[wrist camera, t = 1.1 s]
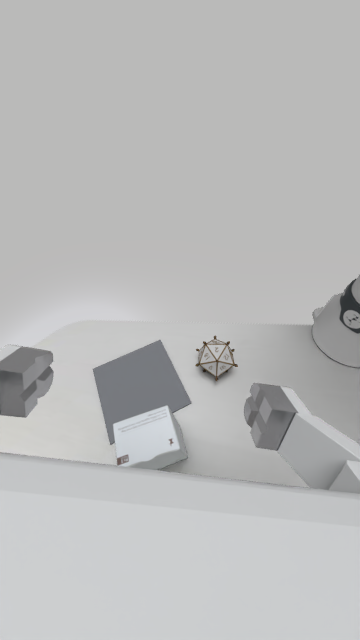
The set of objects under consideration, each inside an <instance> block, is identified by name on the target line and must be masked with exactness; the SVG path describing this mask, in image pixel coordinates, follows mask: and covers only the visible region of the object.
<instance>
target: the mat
mask: <svg viewBox="0 0 360 640" xmlns="http://www.w3.org/2000/svg"><path fill="white" fill-rule="evenodd" d="M93 372H94V376H95V381H96V385H97V389H98V394H99V398H100V402H101V407H102V411H103V415H104V419H105V424H106V428H107V432H108V437H109V441H110V444H113V443H115V438H114V429H113V424H114V423H117V422H120V421H122V420H125V419H128V418H131V417H134V416H137V415H139V414H142V413H145V412H148V411H151V410H154V409H158V408H161V407H164V406H167V405H168V407H169V408H170V410H171V412H172V413H173V412H175V411H177V410H179V409H181V408H183V407H185V406H187V405H189V404H191V401H190V399H189V397H188V395H187V393H186V391H185V389H184V387H183V385H182V383H181V381H180V379H179V377H178V375H177V373H176V371H175V369H174V367H173V365H172V363H171V361H170V359H169V357H168V355H167V352H166V350H165V348H164V346H163V344H162V342H161V340H159V341H156V342H154V343H152V344H149V345H147V346H145V347H143V348H140V349H138V350H136V351H133V352H131V353H129V354H126V355H124V356H122V357H119V358H117V359H115V360H113V361H110V362H108V363H106V364H103V365H101V366H99V367H96V368H94V369H93Z"/></svg>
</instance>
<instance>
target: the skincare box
mask: <svg viewBox="0 0 360 640" xmlns="http://www.w3.org/2000/svg"><path fill="white" fill-rule="evenodd" d="M113 429H114V438H115V447H116V457H117V466H124V467H132V468H141V469H150V470H158V469H161V468H163V467H166V466H168V465H171V464H174V463H176V462H178V461H180V460H183V459H186V458H188V455H187V451H186V447H185V444H184V440H183V436H182V433H181V429H180V426H179V424H178V422H177V420H176V419H175V417H174V415H173V413H172V412H171V410H170V408H169V407H168V405H167V406H164V407H161V408H158V409H154V410H151V411H148V412H145V413H142V414H139V415H137V416H134V417H131V418H128V419H125V420H122V421H120V422H117V423H114V424H113Z"/></svg>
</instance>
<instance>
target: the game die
mask: <svg viewBox="0 0 360 640" xmlns="http://www.w3.org/2000/svg"><path fill="white" fill-rule="evenodd" d="M203 343H204V344H205V345H204V346H203V347H202V348H201V349H200V350H199V349H196V350H197V351H199V364H198V363H197V364H196V366H199V365H200V366H201V367H202V368H204V370H203V372H205V371H208V372H209V373H211V374H212V375H214V376H215V377H216V378H215V380H216V381H217V380H218V378H217V377H218V376H220V375H221V374H222V373H224V372H227V371H228V369H230V368H231V367H232V366H235V367H238V365H236V364H234V360H233V354H232V352H233V351H234V349H232V350H231V349H230V347H229V346H228V345H229V344H230V341H229V342H227V344H226V343H224V342H221V341H219V340H216V336H214V340H212V341H210V342H208V343H206V342H204V341H203Z"/></svg>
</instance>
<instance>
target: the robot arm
mask: <svg viewBox="0 0 360 640" xmlns="http://www.w3.org/2000/svg"><path fill="white" fill-rule="evenodd" d="M313 318H314V324H313V328H312V335H313V338H314V340H315V342H316V344H317V346H318V347H319V348H320V349H321V350H322V351H323V352H324V353H325V354H326V355H327V356H329V357H330V358H332V359H333V360H335V361H337V362H339V363H342V364H344V365H348V366H352V367H359V368H360V275H359V277H358V278H357V279H355V280H353V281H352V282H351V283H350V284H349V285H348V286H347V287H346V289H345V290H344V292H343V293H341V294H338V295H334V296H333V297H332V298H331V299H330V300H329V301H328V303H327V304H326V305H325V306H324V307H322V308H318V309H316V310H314V312H313ZM52 362H53V353H52V352H51V351H46V350H41V349H35V348H29V347H23V346H17V345H6V346H4V347H3V348H1V349H0V415H5V416H15V417H25V418H26V417H27V416H28V414H29V413H30V412H31V411H32V410H33V409H34V407H35V406H36V405H37V399H38V398H40V397H42V396H44V395H45V394H46V393H47V392H48V390H49V389H50V386H51V384H52V381H53V370H52V369H51V367H50V366H49V365H50V364H51V363H52ZM250 393H251V395H252V396H251V397H249V398H248V399H247V400H246V403H245V406H244V416H245V420H246V423H247V424H248V425H249V426H250V427H251V428H252V429H251V432H250V433H251V436H252V438H253V441H254V443H255V446H256V447H257V448H264V449H270V450H276V451H278V453H279V454H280V455H281V456H282V457H283V458H284V460H285V461H286V462H287V463H288V464H289V465H290V466H291V467H292V468H293V469H294V470H295V472H296V473H297V474H298V475H299V476H300V477H301V478H302V479H303V480H304V481H305V483H306V484H307V485H308V486H309V487H310V488H305V487H296V486H287V485H278V484H270V483H261V482H253V481H244V480H236V479H227V478H219V477H210V476H202V475H193V474H185V473H176V472H167V471H159V470H150V469H141V468H132V467H124V466H115V465H106V464H98V463H89V462H80V461H71V460H63V459H54V458H45V457H37V456H28V455H20V454H11V453H2V452H0V640H360V445H359V444H358V443H356V442H355V441H353V440H352V439H350V438H349V437H347V436H346V435H344V434H343V433H341V432H340V431H338V430H337V429H335V428H334V427H332V426H331V425H329V424H328V423H326V422H325V421H323V420H322V419H320V418H319V417H317V416H313V415H312V414H311V413H310V411H309V410H308V409H307V407H306V406H305V405H304V404H303V402H302V401H301V400H300V398H299V397H298V396H297V395H296V393H295V392H294V391H293V389H291V388H290V387H284V386H275V385H267V384H259V383H253V385H252V386H251V389H250Z"/></svg>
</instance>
